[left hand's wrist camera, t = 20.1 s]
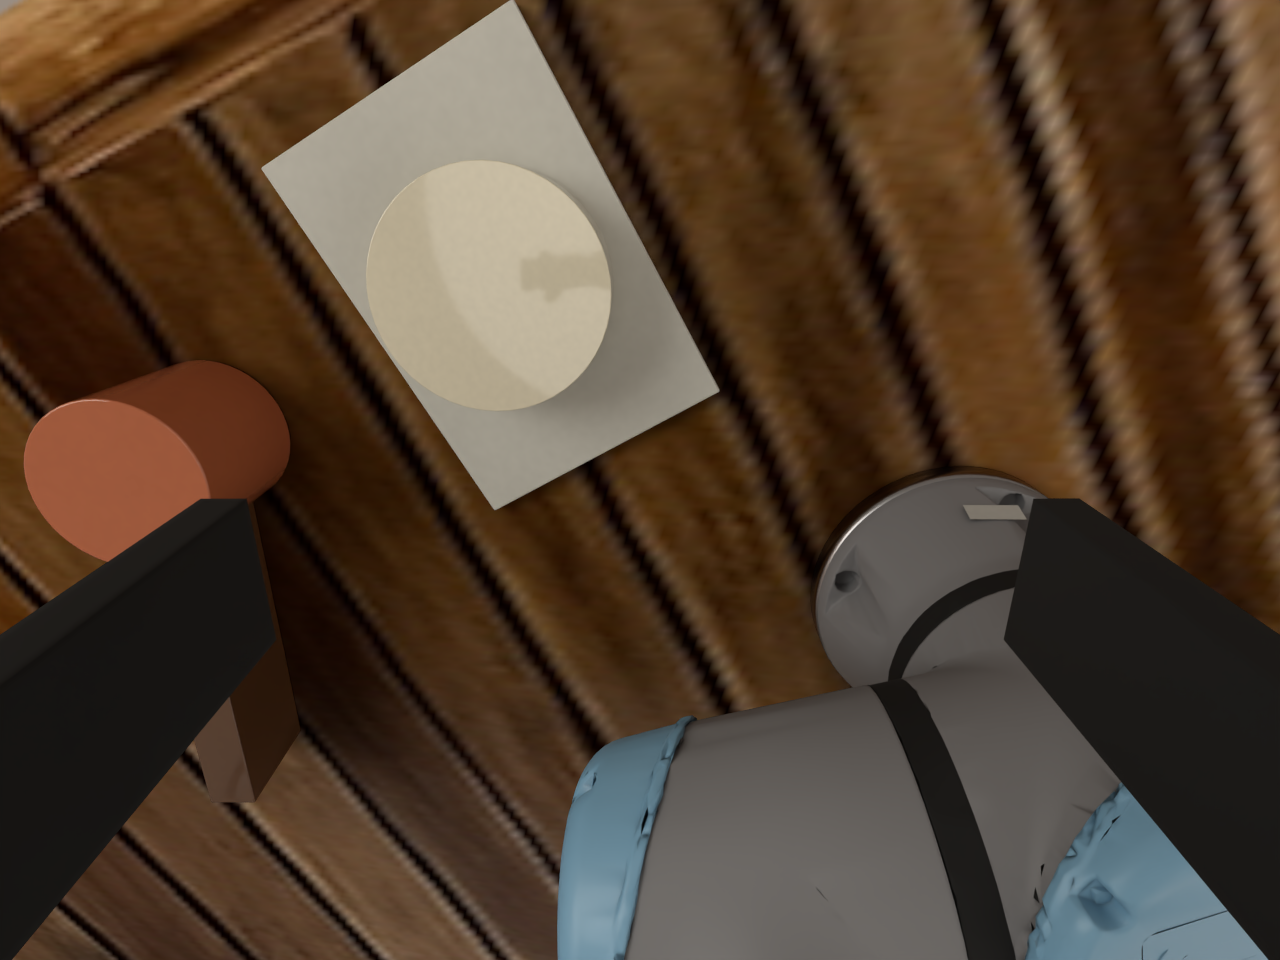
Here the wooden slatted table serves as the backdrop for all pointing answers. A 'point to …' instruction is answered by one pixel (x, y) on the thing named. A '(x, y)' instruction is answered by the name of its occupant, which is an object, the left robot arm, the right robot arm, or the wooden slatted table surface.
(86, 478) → the orange handled cylinder
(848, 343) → the wooden slatted table surface
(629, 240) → the grey mat
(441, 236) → the cap
